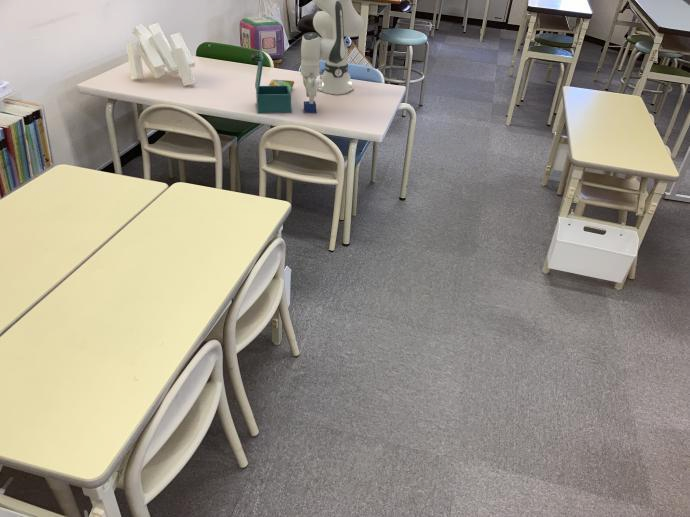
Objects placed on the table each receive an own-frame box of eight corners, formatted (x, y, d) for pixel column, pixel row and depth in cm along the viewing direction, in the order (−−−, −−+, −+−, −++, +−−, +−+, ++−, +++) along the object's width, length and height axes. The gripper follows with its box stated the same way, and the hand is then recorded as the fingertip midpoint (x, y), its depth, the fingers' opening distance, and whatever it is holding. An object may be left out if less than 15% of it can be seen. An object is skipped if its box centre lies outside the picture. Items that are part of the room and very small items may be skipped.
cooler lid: (261, 51, 258) (251, 48, 256) (263, 59, 248) (252, 56, 246) (256, 85, 267) (246, 83, 265) (258, 94, 257) (247, 92, 255)
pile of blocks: (208, 85, 304) (189, 19, 297) (193, 80, 275) (172, 7, 268) (149, 101, 307) (129, 36, 299) (128, 98, 278) (104, 26, 270)
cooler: (288, 103, 275) (288, 85, 270) (291, 112, 265) (290, 94, 260) (256, 103, 272) (255, 85, 267) (258, 113, 262) (257, 95, 257)
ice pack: (303, 110, 268) (303, 101, 266) (314, 109, 269) (315, 101, 267) (304, 113, 265) (304, 104, 262) (316, 112, 266) (316, 104, 263)
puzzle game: (264, 90, 274) (272, 77, 290) (265, 99, 277) (272, 86, 293) (288, 92, 274) (294, 79, 290) (288, 101, 276) (294, 88, 293)
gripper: (320, 77, 248) (319, 107, 256) (313, 64, 264) (313, 92, 272) (306, 77, 246) (306, 107, 254) (300, 64, 263) (300, 92, 271)
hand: (309, 99), depth 263 cm, fingers open, 8 cm apart
